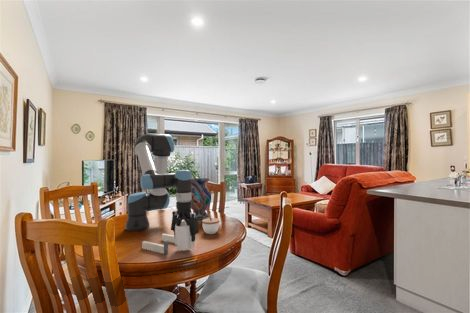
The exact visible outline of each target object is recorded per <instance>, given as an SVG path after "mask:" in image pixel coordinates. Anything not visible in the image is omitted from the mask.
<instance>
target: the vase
mask: <svg viewBox="0 0 470 313" xmlns="http://www.w3.org/2000/svg"><path fill="white" fill-rule="evenodd" d="M210 180H211V179H210V178H208V177H197V178H196V177H195V178H191V195H192V199H191V200H190V201H192V208H191V210H193V213H196V214H197V215H196V219H197V221H198V220H203V219H207V218H210V217H211V215H210V214H209V213H207V212H206V210H207V209H208V207H210V205H211V202H212V193H211V192H210V190H209V187H208V182H209V181H210Z"/></svg>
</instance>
